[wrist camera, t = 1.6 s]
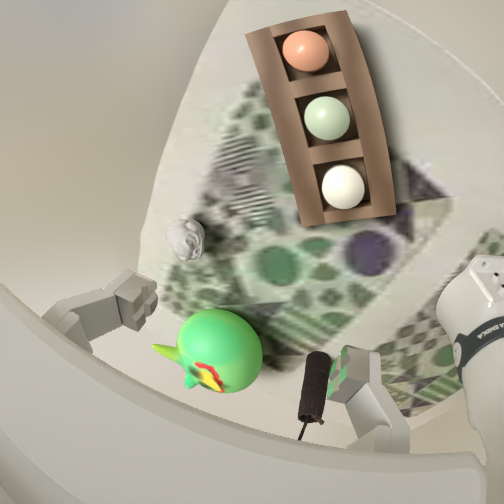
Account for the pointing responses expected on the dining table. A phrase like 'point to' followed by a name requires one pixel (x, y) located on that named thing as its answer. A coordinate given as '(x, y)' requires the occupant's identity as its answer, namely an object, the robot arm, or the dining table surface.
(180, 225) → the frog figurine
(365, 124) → the button panel
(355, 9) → the dining table surface
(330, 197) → the cream button
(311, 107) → the sage button
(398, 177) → the dining table surface
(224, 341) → the toy bird
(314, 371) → the butter churn
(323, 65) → the terracotta button
